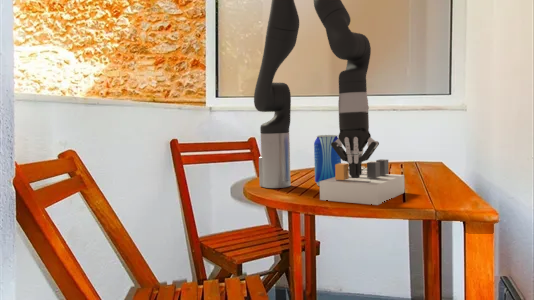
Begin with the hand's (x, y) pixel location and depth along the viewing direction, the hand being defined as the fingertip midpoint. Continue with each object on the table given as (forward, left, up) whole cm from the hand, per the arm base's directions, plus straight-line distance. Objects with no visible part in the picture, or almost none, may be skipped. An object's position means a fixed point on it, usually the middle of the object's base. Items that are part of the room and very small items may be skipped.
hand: (355, 177), depth 118 cm
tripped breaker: (-4, 0, -1) cm, 4 cm away
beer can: (-19, +20, -6) cm, 28 cm away
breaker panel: (-1, +6, -6) cm, 9 cm away
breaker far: (+2, +13, -1) cm, 13 cm away
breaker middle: (+2, +6, -1) cm, 7 cm away
